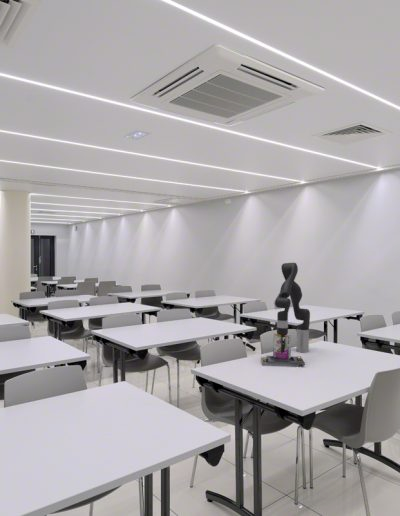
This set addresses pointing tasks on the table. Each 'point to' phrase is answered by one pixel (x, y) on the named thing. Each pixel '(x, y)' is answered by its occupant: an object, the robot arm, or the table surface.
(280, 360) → the grey tray
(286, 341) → the candy bar box
